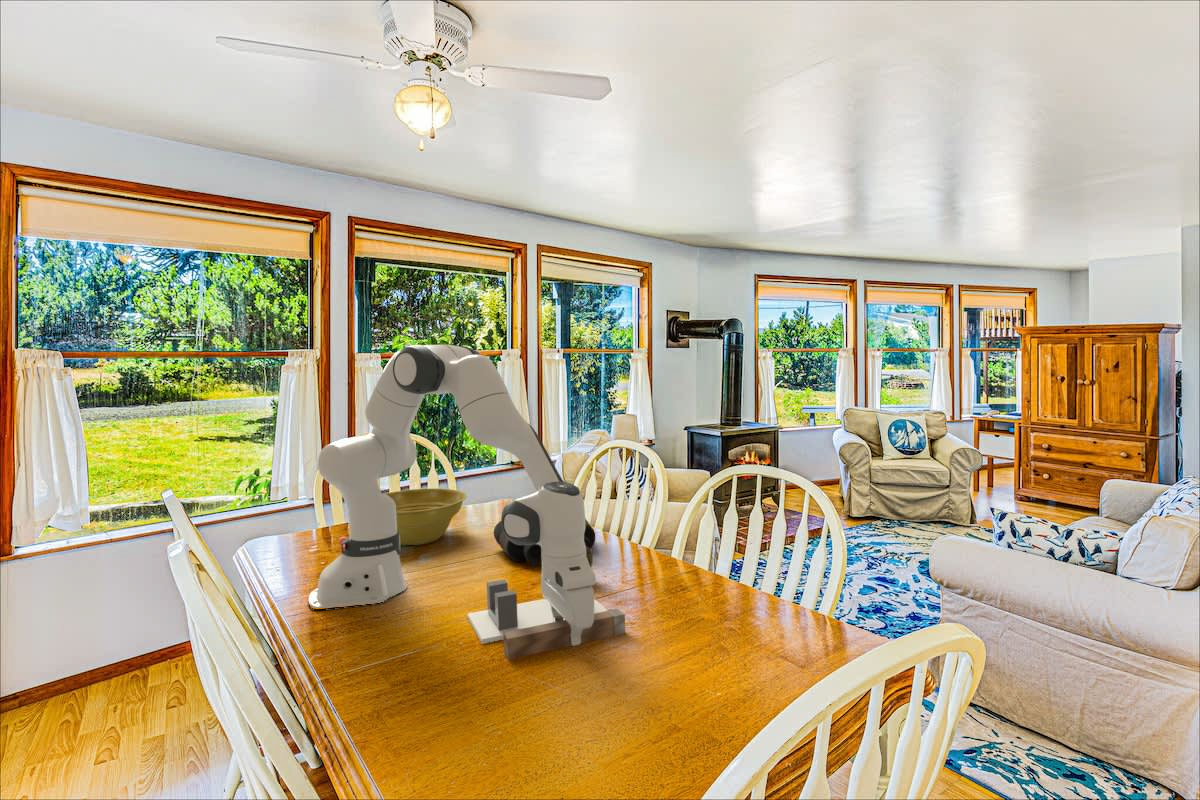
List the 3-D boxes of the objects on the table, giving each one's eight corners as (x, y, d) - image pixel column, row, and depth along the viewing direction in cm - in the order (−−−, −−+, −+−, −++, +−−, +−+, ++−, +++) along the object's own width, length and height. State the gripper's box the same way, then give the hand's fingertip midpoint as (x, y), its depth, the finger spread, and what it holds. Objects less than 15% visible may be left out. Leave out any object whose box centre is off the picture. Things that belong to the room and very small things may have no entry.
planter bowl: (454, 554, 180) (452, 509, 179) (346, 556, 180) (343, 512, 179) (477, 525, 212) (476, 487, 211) (385, 527, 212) (383, 489, 211)
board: (482, 644, 121) (480, 604, 120) (467, 618, 134) (466, 582, 133) (610, 616, 132) (609, 580, 132) (585, 595, 145) (584, 562, 145)
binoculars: (584, 537, 193) (583, 506, 191) (607, 561, 174) (607, 527, 172) (493, 549, 183) (492, 516, 181) (508, 576, 164) (507, 540, 162)
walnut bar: (508, 660, 114) (507, 639, 114) (503, 652, 117) (503, 632, 117) (625, 633, 124) (624, 614, 124) (618, 626, 127) (617, 608, 127)
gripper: (532, 553, 128) (535, 617, 129) (567, 584, 109) (569, 659, 110) (561, 548, 131) (563, 611, 131) (599, 578, 112) (601, 651, 113)
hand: (566, 633), depth 121 cm, fingers open, 8 cm apart
